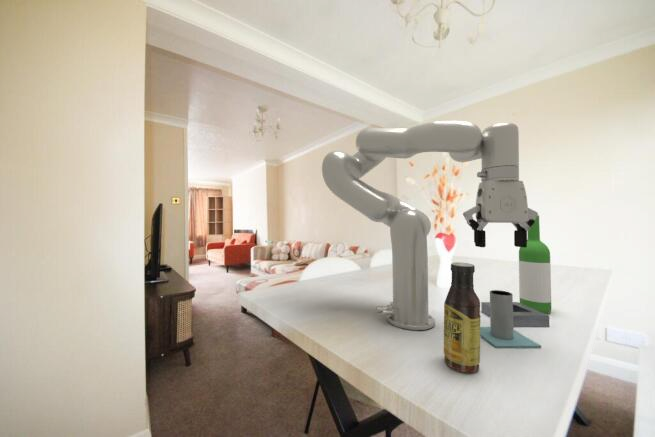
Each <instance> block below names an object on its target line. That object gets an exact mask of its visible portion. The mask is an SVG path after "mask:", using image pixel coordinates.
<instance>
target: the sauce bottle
mask: <svg viewBox="0 0 655 437" xmlns="http://www.w3.org/2000/svg"><path fill="white" fill-rule="evenodd" d="M475 267H476V266H475V265H474V264H473V263H468V262H460V261H459V262H458V261H457V262H452V263H451V264H450V271H451V283H450V284H451V285H450V287H449V290H448V292H447V294H446V298H445V299H444V303H443V304H444V305H443V307H444V308H443V309H444V311H443V354H444V361H445V363H446V365H447V366H448V367H450V368H451V369H453V370H455V371H457V372H459V373H467V374H469V373H475V372H478V370H479V369H480V363H481V362H480V361H481V337H480V327H481V310H480V309H481V301H480V298H479V297H478V295H477V294H476V292H475V290H474V287H475V286H474V273H475Z"/></svg>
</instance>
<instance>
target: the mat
mask: <svg viewBox="0 0 655 437" xmlns="http://www.w3.org/2000/svg"><path fill="white" fill-rule="evenodd" d="M480 338H481V339H483V340H484V341H486V342H487V343H489V345H490V346H493V348H495V349H542V345H540V343H537V342H535V341H533V340H532V339H530V338H529V337H527V336H525V335H523V334H522V333H520V332H518V331H516V330H515V329H513V339H509V340H507V339H500V338H497V337H495V336H493V335H492V334H491V329H490V326H480Z"/></svg>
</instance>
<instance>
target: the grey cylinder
mask: <svg viewBox="0 0 655 437" xmlns="http://www.w3.org/2000/svg"><path fill="white" fill-rule="evenodd" d="M513 298H514V297H513V293H511V292H510V291H507V290H506V291H504V290H501V289H500V290H499V289H498V290H497V289H492V290H490V291H489V302H490V317H489V318H490V323H489V324H490V325H489V327H490V329H491V334H492V335H493V336H495V337H497V338H500V339H507V340H509V339H513V330H514V327H513V302H514V300H513Z"/></svg>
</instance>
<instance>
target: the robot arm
mask: <svg viewBox="0 0 655 437" xmlns="http://www.w3.org/2000/svg"><path fill="white" fill-rule="evenodd" d="M519 134H520V133H519V127H518V125H516V124H515V123H513V122H501V123H496V124H492V125H490V126H487V127H486V128H484V129H483V130H481V128H480V126H478V125H477V124H475V123H474V122H470V121H465V120H441V121H439V120H438V121H430V122H429V121H428V122H425V123H423V124H418V125H414V126H411V127H367V128H364V129H362V130H360V131H359V132H358V133H357V135H356V139H355V146H356V149H357V152H356V153H354V154H353V155H350V154H349V153H347V152H344V151H341V150H333V151H331V152H328V153H327V154H326V155H325V156H324V157H323V160H322V165H321V173H322V178H323V180H324V183H325V185H326V187H327V188H328V189H329V191H331V193H333V194H334V196H336V197H337V198H338V199H339V200H341V201H342V202H344V203H345V204H347V205H349V206H350V207H352V208H353V209H354V210H356V211H357V212H359V213H361V214H362V215H363V216H365V217H366V218H367V219H369V220H371V222H372V221H373V222H375V223H382V224H384V225H386V226H387V227H389V233H390V243H391V256H392V258H391V260H392V301H389V304H388V305H386V306H385V305H384V306H383V305H376V306H375V310H376V314H382V316H387V321H388V322H389V323H390V324H391V325H393V326H395V327H398V328H401V329H405V330H411V331H424V330H430V329H431V328H433V327H435V325H436V322H435V318H434V317H433V316H432V315H430V314H429V267H428V266H429V265H428V263H429V262H428V260H429V259H428V258H429V257H428V256H429V255H428V235H429V233H430V232H431V228H432V225H431V224H432V223H431V220H430V218H429V216H428V215H427V214H426V213H424V212H422V211H421V210H419V209H417V208H415V207H413V206H412V205H410V204H408V203H406V201H403V200H402V199H399V198H398V197H396V196H394V195H392V194H390V193H387V192H385V191H380V190H379V189H376V188H374V187H373V186H372V185H369V184H368V183H366V182H365V181H363V180H361V178H363V177H364V176H365V175H367V174H368V173H369V172H371V171H372V170H373V169H374V168H376V167H377V166H379V165H380V164H381V163H382V162H383V161H384V160H385V159H386V158H390V159H391V158H393V159H410V158H412V157H415V156H416V155H417V154H421V153H432V152H433V153H448V154H449V157H450V158H451V159H452V160H453V161H455V162H458V163H468V162H471V161H475V160H481V171H477V173H476V177H477V178H480V181H481V182H479V184H478V187H477V191H476V199H475V206H473V207H472V208H469V209H467V210H466V211H463V212H462V215H463V217H464V220H465V221H466V224H467V225H468V226H469V227H471V230H473V242H474V246H475V247H478V248H485V247H486V246H487V245H486V243H487V242H486V238H487V237H486V230H484V228H485V227H486V226H487V225H488V224H489V223H491V224H492V223H495V224H496V223H498V224H499V223H503V224H504V223H507V224H512V225H513V226H514V227H515V230H514V233H513V234H514V236H513V239H514V240H513V242H514V244H513V245H514V247H516V248H517V247H518V248H520V247H527V239H528V230H530V227H531V226H532V225H533V224H534V220H535V219H536V217H537V215H539V214H538V213H539V212H537V211H536V210H533V209H532V208H529V206H528V198H527V190H526V188H525V184H524V181H523V180H520V163H519V162H520V152H519V151H520V149H519V148H520V147H519V146H520V145H519V144H520V143H519V141H520V140H519V139H520V138H519ZM474 215H475V219H476V220H475V219H474V217H473V216H474Z"/></svg>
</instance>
